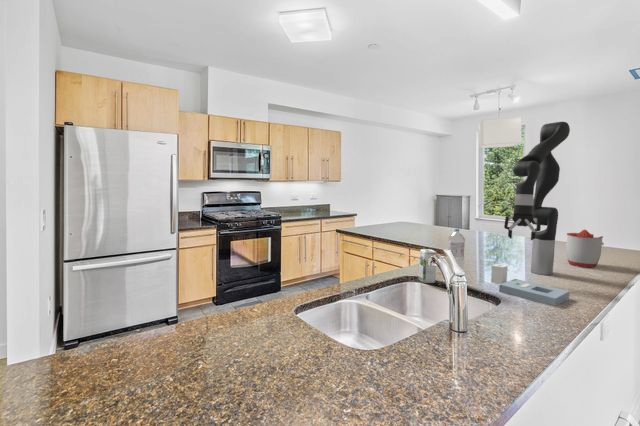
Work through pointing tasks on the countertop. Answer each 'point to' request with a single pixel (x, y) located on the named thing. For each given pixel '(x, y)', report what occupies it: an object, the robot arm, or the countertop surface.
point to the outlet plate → (534, 292)
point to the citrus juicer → (583, 249)
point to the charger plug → (499, 274)
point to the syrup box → (426, 266)
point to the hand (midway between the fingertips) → (521, 239)
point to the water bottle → (457, 247)
